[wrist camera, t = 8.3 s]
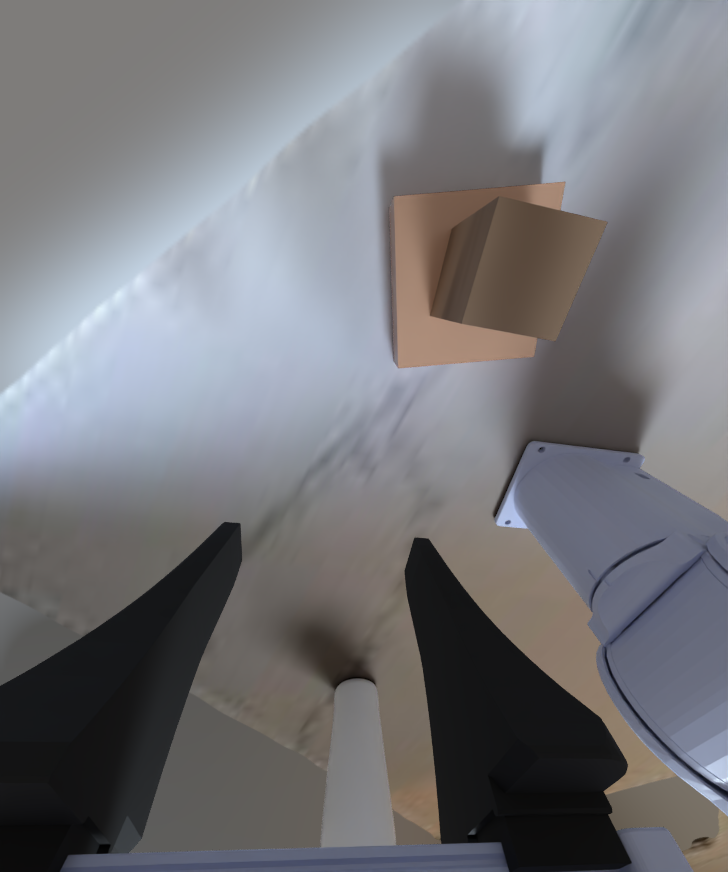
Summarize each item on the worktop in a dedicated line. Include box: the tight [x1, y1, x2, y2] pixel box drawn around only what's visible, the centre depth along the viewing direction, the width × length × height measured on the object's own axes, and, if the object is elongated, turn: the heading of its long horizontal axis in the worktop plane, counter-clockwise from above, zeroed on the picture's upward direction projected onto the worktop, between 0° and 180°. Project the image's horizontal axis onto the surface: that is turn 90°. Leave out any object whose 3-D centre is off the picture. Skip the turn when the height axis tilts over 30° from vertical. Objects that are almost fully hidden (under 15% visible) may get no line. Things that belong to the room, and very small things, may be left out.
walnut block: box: [430, 196, 607, 341], centre depth 13 cm, size 4×4×5 cm
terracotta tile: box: [389, 182, 565, 368], centre depth 16 cm, size 8×8×2 cm
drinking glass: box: [320, 678, 396, 848], centre depth 29 cm, size 7×7×15 cm
